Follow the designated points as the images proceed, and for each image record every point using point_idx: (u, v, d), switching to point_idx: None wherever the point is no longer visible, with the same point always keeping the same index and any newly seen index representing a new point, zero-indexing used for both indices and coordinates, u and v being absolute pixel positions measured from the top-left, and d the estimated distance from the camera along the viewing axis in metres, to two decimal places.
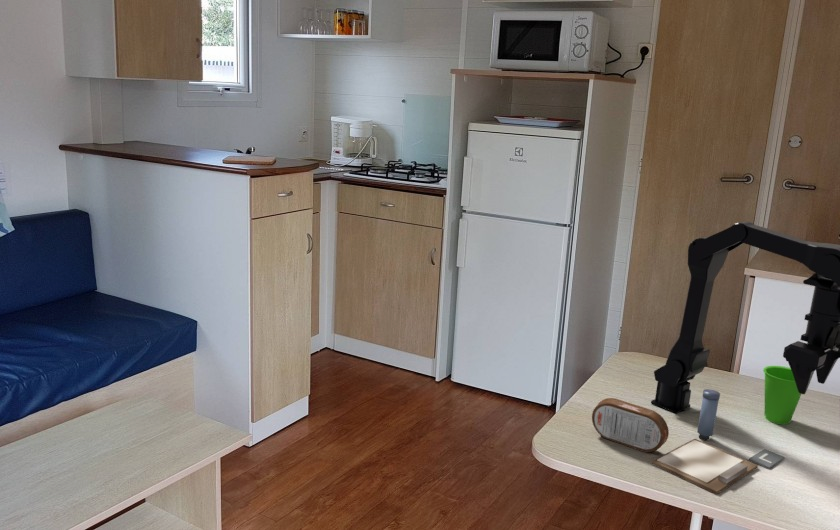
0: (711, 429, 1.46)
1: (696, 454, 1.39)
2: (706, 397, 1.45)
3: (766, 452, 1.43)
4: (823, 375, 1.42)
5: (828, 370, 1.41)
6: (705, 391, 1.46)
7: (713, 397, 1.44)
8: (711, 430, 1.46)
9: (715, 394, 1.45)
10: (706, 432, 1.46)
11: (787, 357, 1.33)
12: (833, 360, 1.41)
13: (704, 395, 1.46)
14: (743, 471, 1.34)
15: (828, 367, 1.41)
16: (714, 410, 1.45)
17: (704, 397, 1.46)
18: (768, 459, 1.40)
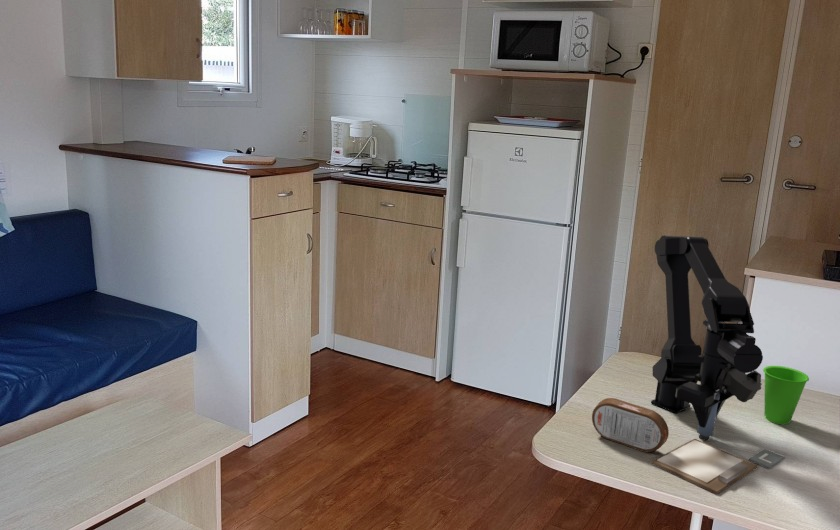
0: (711, 429, 1.46)
1: (696, 454, 1.39)
2: None
3: (766, 452, 1.43)
4: None
5: None
6: None
7: None
8: (711, 430, 1.46)
9: None
10: (706, 432, 1.46)
11: (678, 397, 1.41)
12: (720, 401, 1.47)
13: None
14: (743, 471, 1.34)
15: None
16: (714, 410, 1.45)
17: None
18: (768, 459, 1.40)
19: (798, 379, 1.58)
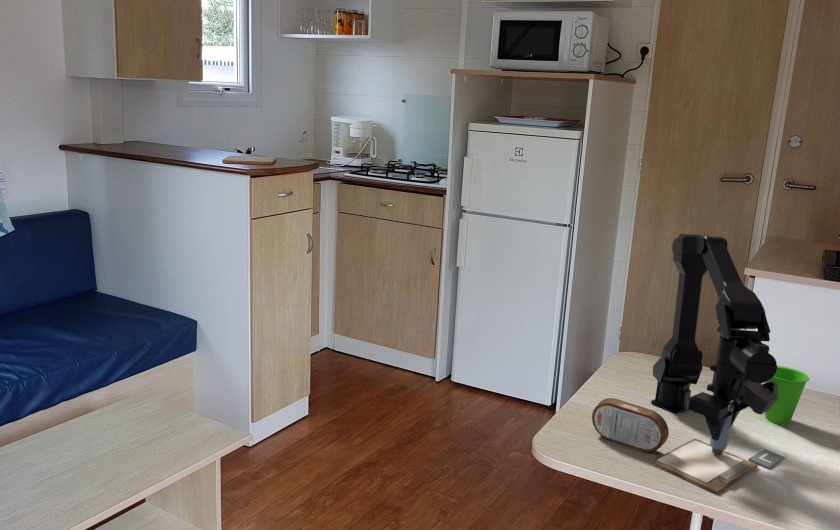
0: (725, 442, 1.38)
1: (696, 454, 1.39)
2: None
3: (766, 452, 1.43)
4: None
5: None
6: None
7: None
8: (725, 443, 1.38)
9: None
10: (719, 446, 1.38)
11: (690, 409, 1.33)
12: (734, 413, 1.38)
13: None
14: (743, 471, 1.34)
15: None
16: (727, 422, 1.37)
17: None
18: (768, 459, 1.40)
19: (798, 379, 1.58)
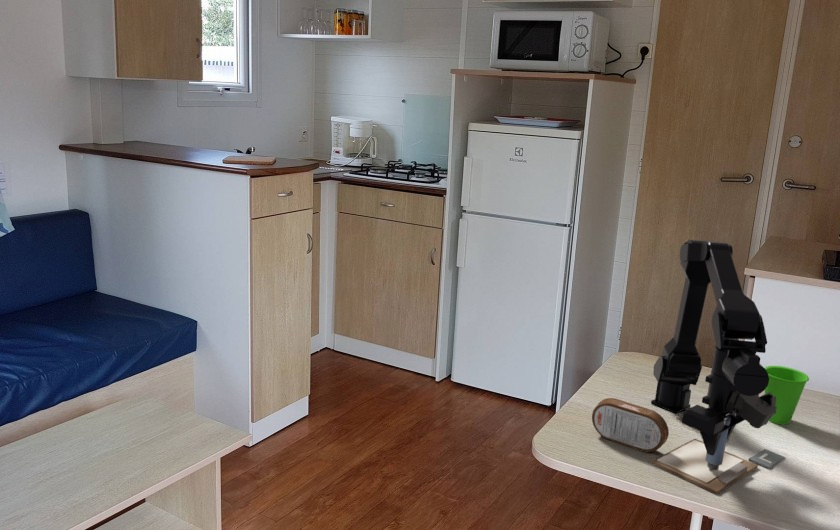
0: (721, 457, 1.32)
1: (696, 454, 1.39)
2: None
3: (766, 452, 1.43)
4: None
5: None
6: None
7: None
8: (721, 458, 1.32)
9: None
10: (715, 460, 1.32)
11: (684, 422, 1.27)
12: (730, 426, 1.32)
13: None
14: (743, 471, 1.34)
15: None
16: (724, 436, 1.31)
17: None
18: (768, 459, 1.40)
19: (798, 379, 1.58)
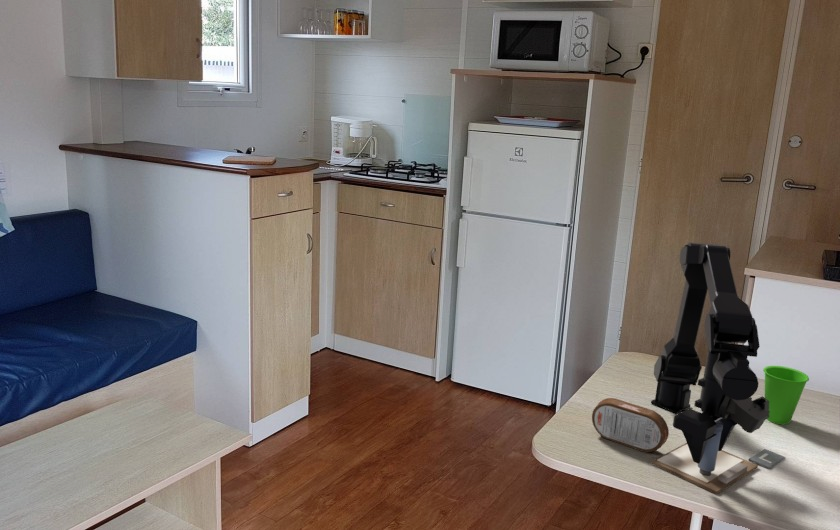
0: (713, 463, 1.31)
1: None
2: None
3: (766, 452, 1.43)
4: (720, 442, 1.34)
5: (725, 437, 1.33)
6: None
7: (716, 428, 1.29)
8: (713, 464, 1.31)
9: (718, 425, 1.29)
10: (707, 467, 1.31)
11: (676, 427, 1.25)
12: (729, 427, 1.32)
13: None
14: (743, 471, 1.34)
15: (725, 434, 1.33)
16: (716, 442, 1.29)
17: None
18: (768, 459, 1.40)
19: (798, 379, 1.58)
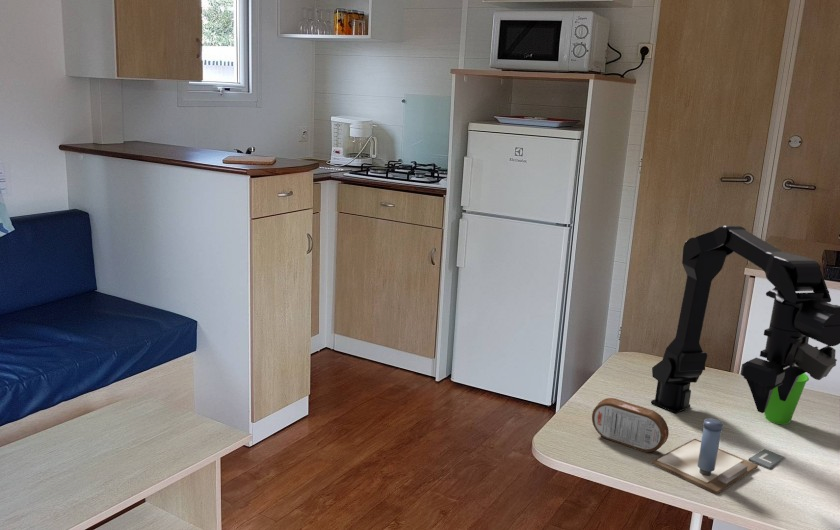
0: (713, 463, 1.31)
1: (696, 454, 1.39)
2: (707, 428, 1.29)
3: (766, 452, 1.43)
4: (784, 392, 1.36)
5: (790, 387, 1.35)
6: (706, 421, 1.30)
7: (715, 428, 1.29)
8: (713, 464, 1.31)
9: (717, 424, 1.29)
10: (707, 467, 1.31)
11: (744, 375, 1.27)
12: (795, 377, 1.35)
13: (705, 425, 1.30)
14: (743, 471, 1.34)
15: (790, 384, 1.35)
16: (716, 442, 1.29)
17: (705, 427, 1.30)
18: (768, 459, 1.40)
19: (798, 379, 1.58)
